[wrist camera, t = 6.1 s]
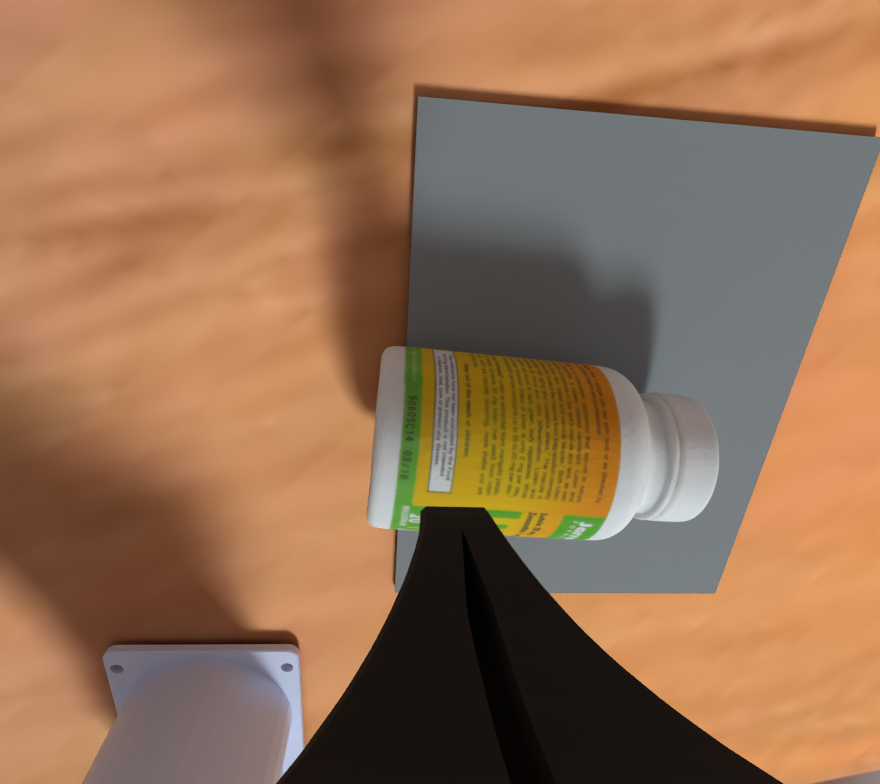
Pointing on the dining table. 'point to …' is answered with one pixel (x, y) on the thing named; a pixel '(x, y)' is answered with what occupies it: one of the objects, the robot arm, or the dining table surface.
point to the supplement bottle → (534, 445)
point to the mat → (633, 285)
